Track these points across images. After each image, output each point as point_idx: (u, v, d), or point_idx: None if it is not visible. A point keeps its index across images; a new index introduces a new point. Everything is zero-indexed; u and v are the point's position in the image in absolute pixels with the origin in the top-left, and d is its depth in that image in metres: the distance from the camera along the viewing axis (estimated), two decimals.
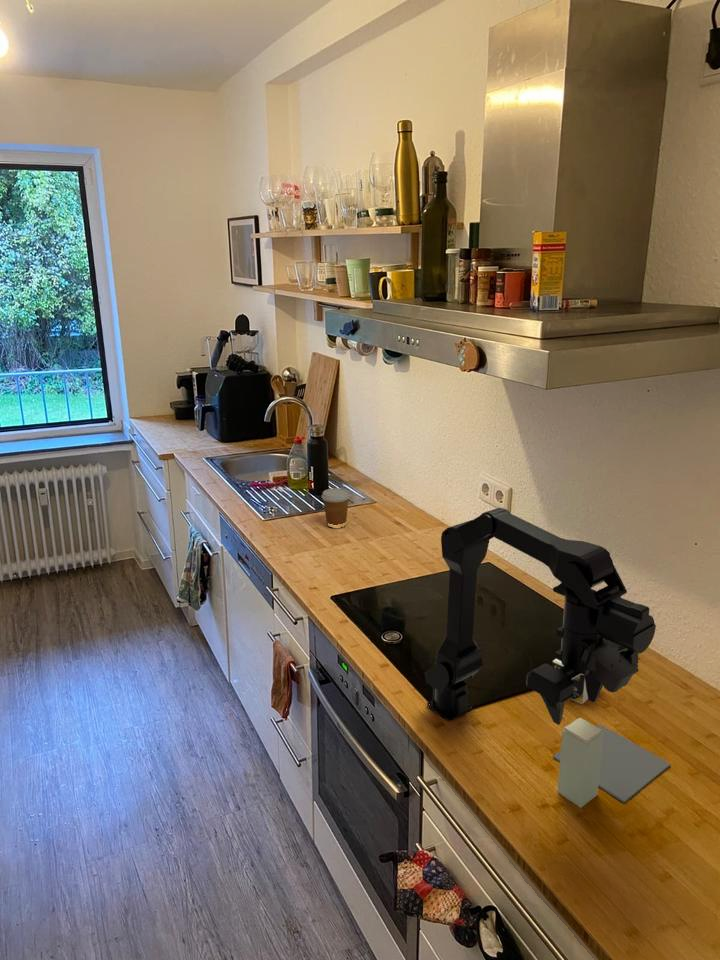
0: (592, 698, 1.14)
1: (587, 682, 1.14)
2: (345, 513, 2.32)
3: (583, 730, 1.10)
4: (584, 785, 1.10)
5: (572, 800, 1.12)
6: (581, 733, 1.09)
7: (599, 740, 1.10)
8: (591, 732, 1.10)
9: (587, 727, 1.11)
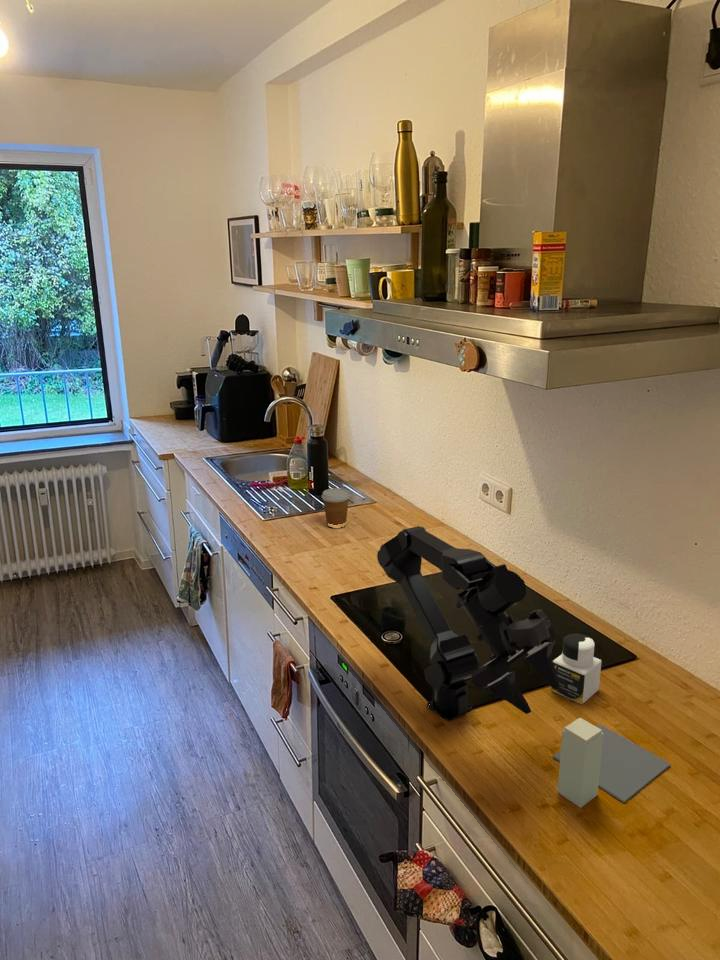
0: (555, 685, 1.20)
1: (543, 675, 1.21)
2: (345, 513, 2.32)
3: (583, 730, 1.10)
4: (584, 785, 1.10)
5: (572, 800, 1.12)
6: (581, 733, 1.09)
7: (599, 740, 1.10)
8: (591, 732, 1.10)
9: (587, 727, 1.11)
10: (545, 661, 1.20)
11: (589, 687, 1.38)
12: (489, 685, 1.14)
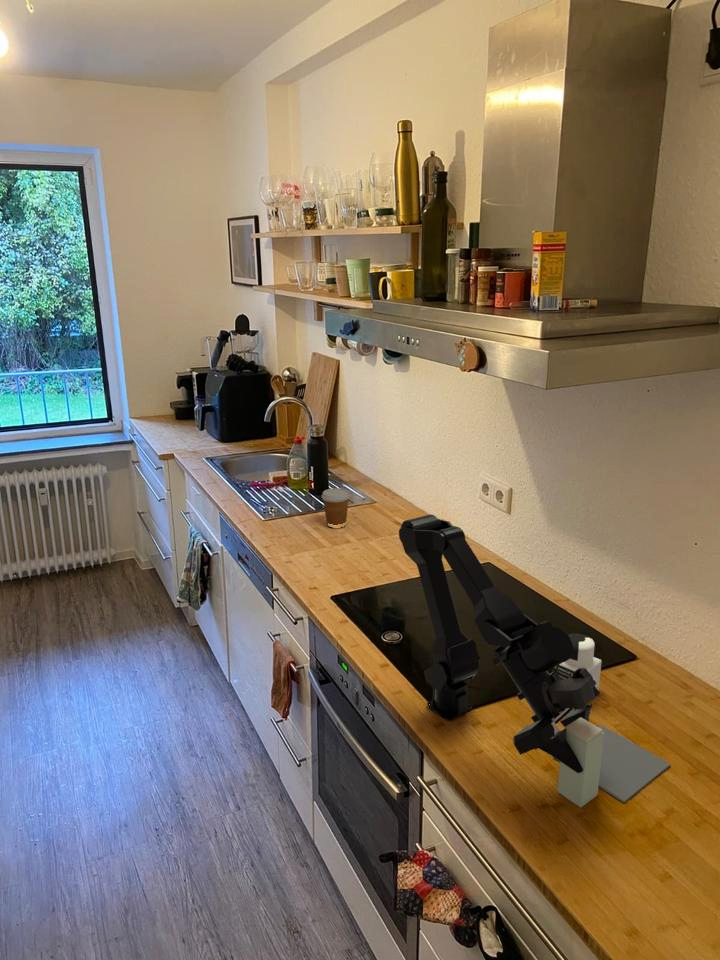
0: None
1: None
2: (345, 513, 2.32)
3: (584, 730, 1.10)
4: (585, 785, 1.10)
5: (572, 800, 1.12)
6: (582, 733, 1.09)
7: (599, 740, 1.10)
8: (592, 732, 1.10)
9: (588, 727, 1.11)
10: None
11: None
12: None
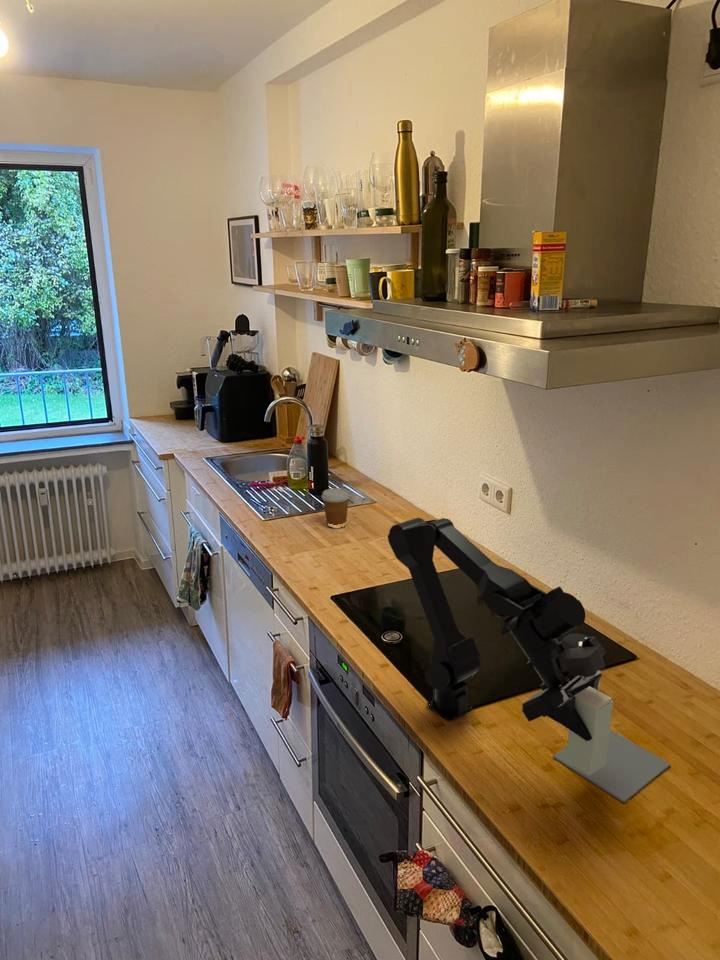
0: None
1: None
2: (345, 513, 2.32)
3: (593, 698, 1.10)
4: (593, 753, 1.10)
5: (581, 768, 1.12)
6: (591, 701, 1.09)
7: (608, 708, 1.10)
8: (601, 700, 1.10)
9: (597, 695, 1.11)
10: None
11: None
12: None
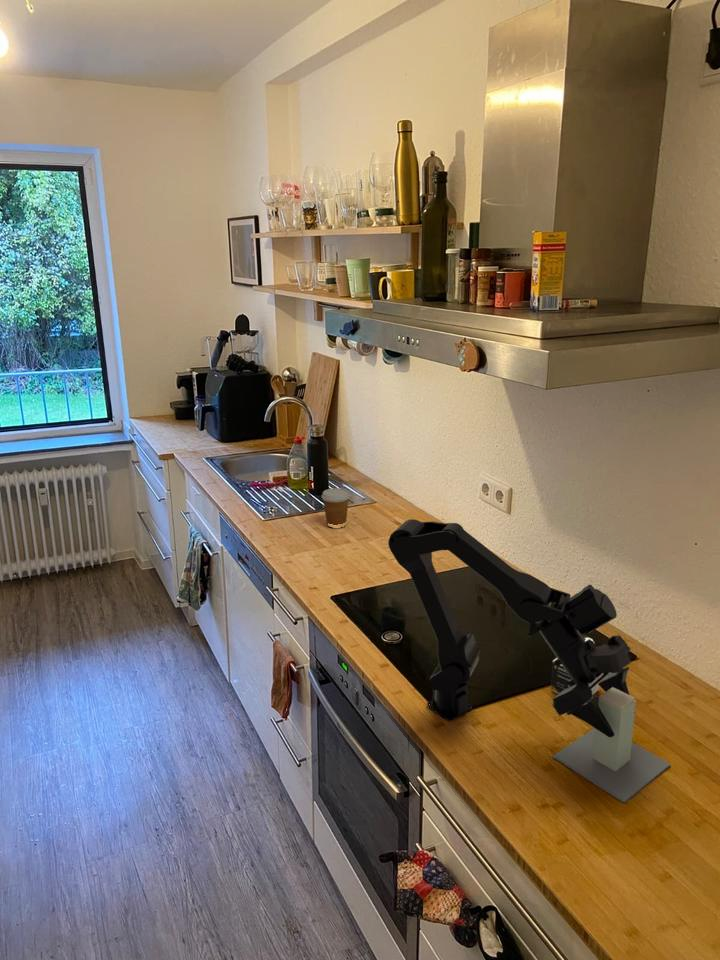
0: None
1: None
2: (345, 513, 2.32)
3: (617, 698, 1.17)
4: (619, 750, 1.17)
5: (607, 765, 1.19)
6: (615, 701, 1.17)
7: (632, 707, 1.17)
8: (625, 700, 1.17)
9: (620, 695, 1.18)
10: (620, 687, 1.22)
11: None
12: (573, 709, 1.16)
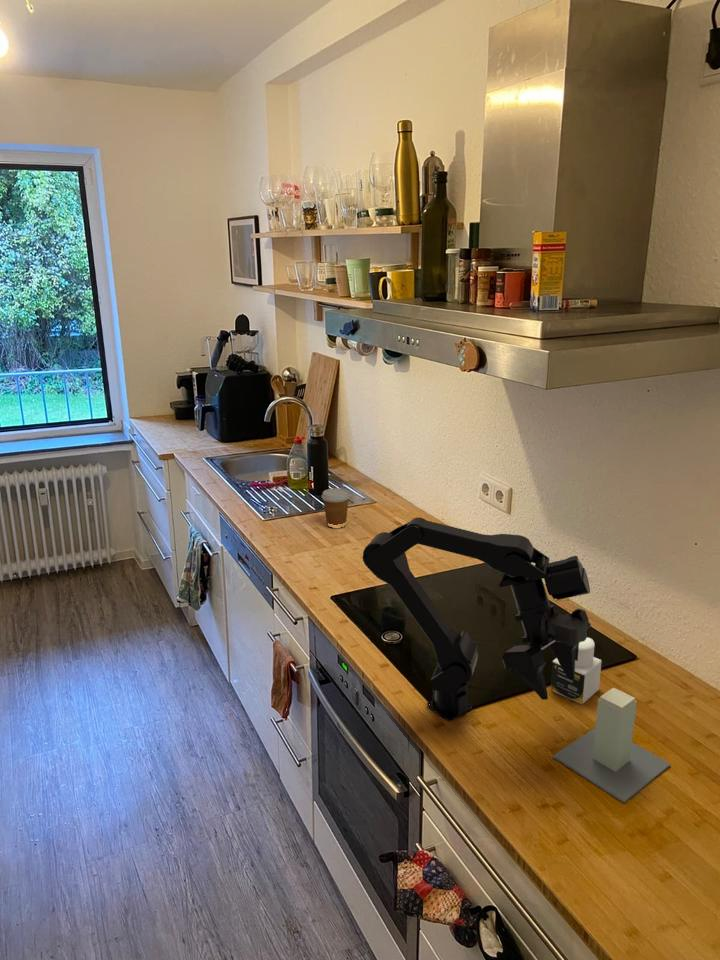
0: (571, 676, 1.27)
1: (561, 663, 1.28)
2: (345, 513, 2.32)
3: (618, 698, 1.17)
4: (619, 750, 1.17)
5: (607, 765, 1.19)
6: (616, 701, 1.16)
7: (633, 708, 1.17)
8: (626, 700, 1.17)
9: (621, 696, 1.18)
10: (569, 653, 1.27)
11: (589, 687, 1.38)
12: (518, 667, 1.19)
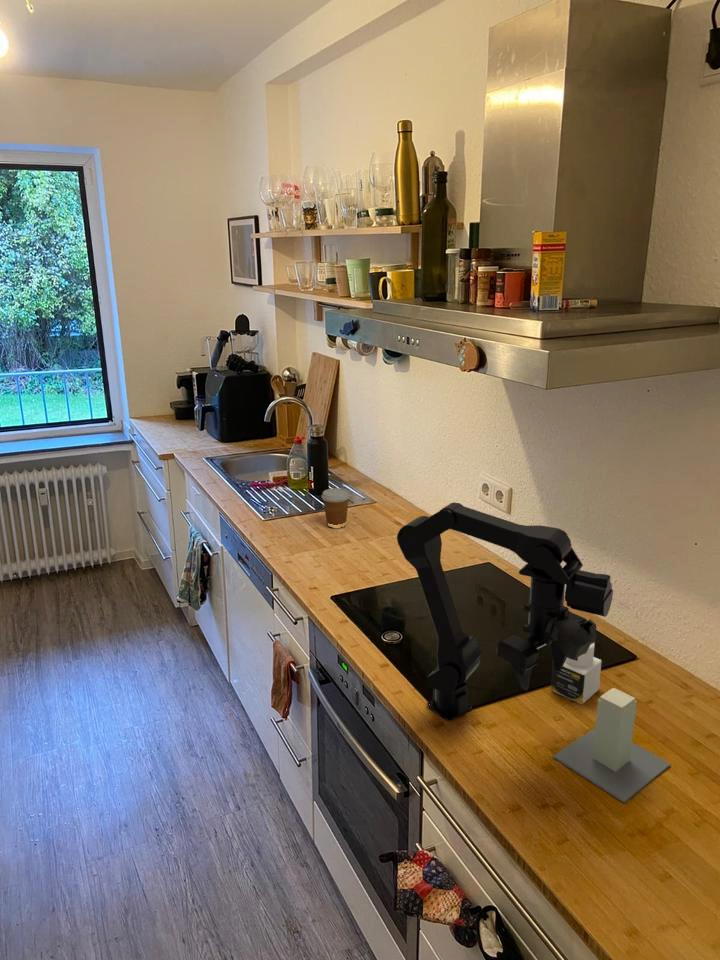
0: (558, 668, 1.26)
1: (553, 653, 1.27)
2: (345, 513, 2.32)
3: (618, 698, 1.17)
4: (619, 750, 1.17)
5: (607, 765, 1.19)
6: (616, 701, 1.16)
7: (633, 708, 1.17)
8: (626, 700, 1.17)
9: (621, 696, 1.18)
10: None
11: (589, 687, 1.38)
12: None
